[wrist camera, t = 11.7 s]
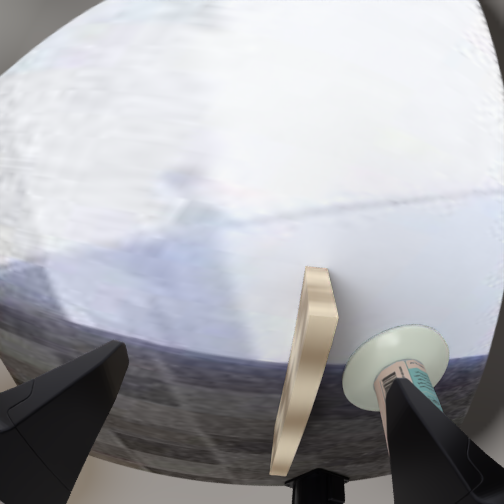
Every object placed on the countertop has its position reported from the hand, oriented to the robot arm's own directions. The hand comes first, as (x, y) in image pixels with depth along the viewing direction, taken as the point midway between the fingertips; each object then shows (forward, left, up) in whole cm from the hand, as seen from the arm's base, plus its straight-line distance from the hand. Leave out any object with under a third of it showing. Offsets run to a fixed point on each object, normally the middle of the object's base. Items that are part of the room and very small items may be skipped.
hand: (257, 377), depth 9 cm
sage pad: (-2, -16, -12) cm, 20 cm away
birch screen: (-7, -8, -12) cm, 16 cm away
